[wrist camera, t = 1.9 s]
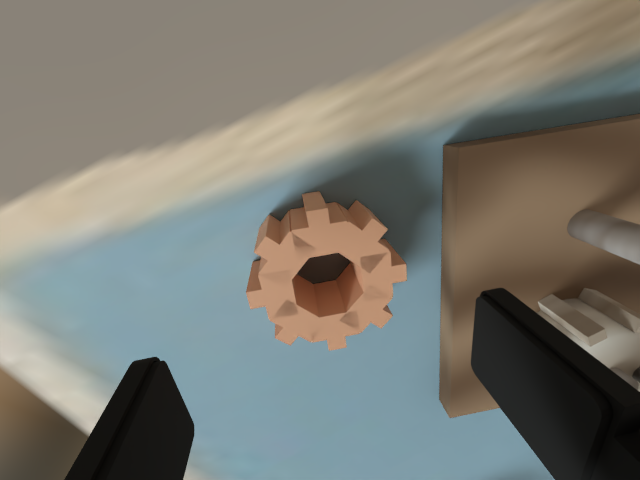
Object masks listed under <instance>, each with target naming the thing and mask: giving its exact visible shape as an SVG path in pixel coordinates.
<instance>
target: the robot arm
mask: <svg viewBox="0 0 640 480" xmlns="http://www.w3.org/2000/svg"><path fill="white" fill-rule="evenodd" d="M471 367H472V370H473V372H474V374H475V375H476V377H477V378H478V379H479V380H480V382H481V383H482V384H483V386H484V387H485V388H486V390H487V391H488V392H489V394H490V395H491V396H492V398H493V399H494V400H495V401H496V403H497V404H498V405H499V407H500V408H501V409H502V411H503V412H504V413H505V415H506V416H507V417H508V418H509V420H510V421H511V422H512V424H513V425H514V426H515V428H516V429H517V430H518V432H519V433H520V434H521V436H522V437H523V438H524V439H525V441H526V442H527V443H528V445H529V446H530V447H531V449H532V450H533V451H534V453H535V454H536V455H537V457H538V458H539V459H540V460H541V462H542V463H543V464H544V466H545V467H546V468H547V470H548V471H549V472H550V474H551V475H552V476H553V478H554V479H555V480H640V392H639V391H638V390H637V389H635V388H634V387H633V386H631V385H630V384H629V383H627V382H626V381H625V380H624V379H622V378H621V377H620V376H618V375H617V374H616V373H614V372H613V371H612V370H611V369H609V368H608V367H607V366H605V365H604V364H603V363H601V362H600V361H599V360H597V359H596V358H595V357H594V356H592V355H591V354H590V353H588V352H587V351H586V350H584V349H583V348H582V347H580V346H579V345H578V344H577V343H575V342H574V341H573V340H571V339H570V338H569V337H567V336H566V335H565V334H564V333H562V332H561V331H560V330H558V329H557V328H556V327H554V326H553V325H552V324H550V323H549V322H548V321H547V320H545V319H544V318H543V317H541V316H540V315H539V314H537V313H536V312H535V311H534V310H532V309H531V308H530V307H528V306H527V305H526V304H524V303H523V302H522V301H520V300H519V299H518V298H517V297H515V296H514V295H513V294H511V293H510V292H509V291H507V290H506V289H504V288H495V289H490V290H486V291H482V292H481V294H480V297H477V299H476V304H475V316H474V328H473V340H472V352H471ZM193 438H194V423H193V421H192V419H191V416H190V414H189V412H188V410H187V407H186V405H185V403H184V401H183V399H182V396H181V394H180V392H179V390H178V388H177V385H176V383H175V381H174V379H173V377H172V374H171V372H170V370H169V368H168V366H167V364H166V362H165V361H160V360H159V358H157V357H152V358H147V359H142V360H137V361H134V362H132V364H131V365H130V366H129V368H128V370H127V372H126V373H125V375H124V377H123V379H122V380H121V382H120V384H119V386H118V387H117V389H116V391H115V393H114V394H113V396H112V398H111V399H110V401H109V403H108V405H107V406H106V408H105V410H104V412H103V413H102V415H101V417H100V419H99V420H98V422H97V424H96V426H95V427H94V429H93V431H92V433H91V434H90V436H89V438H88V440H87V441H86V443H85V445H84V447H83V448H82V450H81V452H80V454H79V455H78V457H77V459H76V460H75V462H74V464H73V466H72V467H71V469H70V471H69V473H68V474H67V476H66V478H65V480H183V478H184V474H185V470H186V466H187V462H188V458H189V454H190V450H191V446H192V442H193Z"/></svg>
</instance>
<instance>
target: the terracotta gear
mask: <svg viewBox="0 0 640 480" xmlns="http://www.w3.org/2000/svg"><path fill="white" fill-rule="evenodd" d="M302 197H303V203H304V207H302V208H296V209H290V211H289V210H288V212H287V213H286V215H285V216H284V217H283V219H282V220H281V221H279V220H277V219H276V218H274V217H273V216H271V215H270V214H269V215H268V216H267V218H266V219H265V221H264V222H263V223H262V225H261V226H260V228H259V232H258V237H257V241H256V246H255V250H254V253H256V254H257V255H259V256H261V260H259V261H253V263H252V268H251V272H250V277H249V281H248V286H247V291H246V294H247V298H248V301H249V305H250V309H254V308H259V307H265V306H266V309H267V313H268V317H269V319H270V321H272V322H273V323H275V324H276V325H275V338H276V339H278V340H280V341H282V342H284V343H286V344H288V345H291V344H292V343H293V342H294V341H295V339H296V338H297V337H298V336H300V337H302V338H304V339H306V340H307V341H309V342H312V343H313V342H318V341H323V340H327V343H328V348H329V351H330V350H335V349H340V348H346V340H345V336H350V335H355V334H360V332H362V331H363V330H364V329H365V328H366V327H367V326H368V325H369V324H370V322H371V323H373V324H374V325H376V326H378V327H379V328H382V327H383V326H384V325H385V324H386V323H387V322H388V320H389V319H390V318H391V317H392V316H393V315H392V313H391V311H390V310H389V308H388V306H387V304H388V303H389V302H390V300H391V299H392V297H393V286H392V283H397V282H402V281H407V272H406V263H405V262H404V261H403V259H402V258H401V257H400V256H399V255H398V253H397V252H396V251H395V250H394V249H393V248H392V246H391V245H390V244H389V243H388V242H387V240H386V239H380V238H381V237H382V236H383V235H384V233H385V232H386V231H387V230H388V229H387V228H386V227H385V226H384V225H383V224H382V223H381V222H380V220H379V219H378V218H377V217H376V216H375V215H374V214H373V213H372V212H371V211H370V210H369V209H368V208H367V207H365V206H364V205H363V204H361V203H360V202H359V201H357V200H356V201H355V202H354V203H353V204H352V206H351V207H350V208H349V209H348V210H347V209H346V208H344V207H343V206H341V205H340V204H339V203H336V202H332V203H325V201H324V199H323V197H322V195H321V193H320V191H317V192H311V193H305V194H302ZM334 253H340V254H341V255H343V256H344V257H346V258H347V259H349V260H350V263H349V265H348V266H347V267H346V268H345V269H344V271H343V272H342V273H341V274H340V275H339V277H338V278H337V279H336V280H333V281H327V282H321V283H316V284H312V283H311V282H309V281H307V280H306V279H304V278H302V277H301V276H299V275H298V274H297V273H298V271H299V270H300V269H301V267H302V266H303V265H304V264H305V262H306V261H307V260H308V259H309V258H311V257H317V256H323V255H328V254H334Z"/></svg>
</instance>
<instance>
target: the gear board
mask: <svg viewBox="0 0 640 480" xmlns="http://www.w3.org/2000/svg"><path fill="white" fill-rule="evenodd" d="M495 288H504V289H506V290H507V291H509V292H510V293H511V294H513V295H514V296H515V297H517V298H518V299H519V300H520V301H522V302H523V303H524V304H526V305H527V306H528V307H530V308H531V309H532V310H534V311H535V312H536V313H537V314H539V315H540V316H541V317H543V318H544V319H545V320H547V321H548V322H549V323H550V324H552V325H553V326H554V327H556V328H557V329H558V330H560V331H561V332H562V333H564V334H565V335H566V336H567V337H569V338H570V339H571V340H573V341H574V342H575V343H577V344H578V345H579V346H580V347H582V348H583V349H584V350H586V351H587V352H588V353H590V354H591V355H592V356H594V357H595V358H596V359H597V360H599V361H600V362H601V363H603V364H604V365H605V366H607V367H608V368H609V369H611V370H612V371H613V372H614V373H616V374H617V375H618V376H620V377H621V378H622V379H624V380H625V381H626V382H627V383H629V384H630V385H631V386H633V387H634V388H635V389H637V390H638V391H639V392H640V114H635V115H629V116H623V117H616V118H610V119H604V120H598V121H591V122H585V123H579V124H573V125H566V126H560V127H554V128H548V129H541V130H535V131H529V132H522V133H516V134H510V135H504V136H497V137H491V138H485V139H479V140H472V141H466V142H460V143H454V144H447V145H443V196H442V260H441V325H440V390H439V400H440V401H441V403H442V405H443V407H444V409H445V411H446V412H447V414H448V416H449V418H452V417H457V416H462V415H467V414H472V413H477V412H481V411H486V410H491V409H496V408H500V407H499V405H498V404H497V403H496V401H495V400H494V399H493V398H492V396H491V395H490V394H489V392H488V391H487V390H486V388H485V387H484V386H483V384H482V383H481V382H480V380H479V379H478V378H477V377H476V375H475V374H474V372H473V370H472V367H471V352H472V340H473V328H474V316H475V304H476V299H477V297H480V294H481V292H482V291H486V290H490V289H495Z"/></svg>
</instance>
